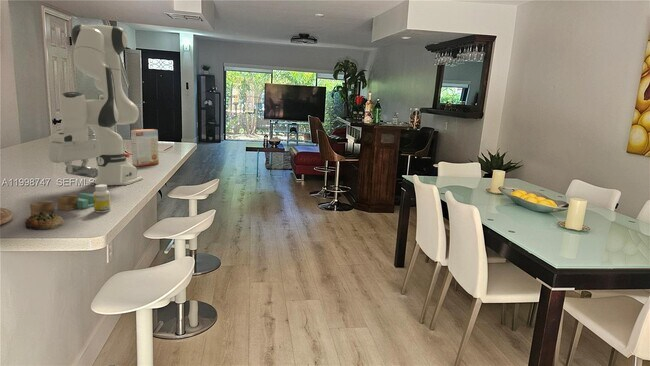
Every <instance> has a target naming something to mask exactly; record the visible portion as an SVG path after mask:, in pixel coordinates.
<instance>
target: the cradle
mask: <svg viewBox="0 0 650 366" xmlns="http://www.w3.org/2000/svg"><path fill="white" fill-rule="evenodd" d="M91 207H94V195H93V193H89V192H87V193H86V192H80V193H78V200H77V208H76V209H82V210H85V209H88V208H91Z"/></svg>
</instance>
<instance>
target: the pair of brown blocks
mask: <svg viewBox="0 0 650 366" xmlns="http://www.w3.org/2000/svg"><path fill="white" fill-rule="evenodd" d="M78 198H79V195H76V194H68V195H67V194H66V195H61V196H58V197H56V204H57V210H59V211H71V210H74V209H78V208H77V200H78ZM29 210H30V216H32V215H33V214H35V215H37V214H39V213H40V212H45V213H50V214H55V209H54V201H49V200H45V199H44V200H41V201H36V202H33V203H29Z"/></svg>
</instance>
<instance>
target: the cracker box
mask: <svg viewBox="0 0 650 366" xmlns="http://www.w3.org/2000/svg"><path fill="white" fill-rule="evenodd" d="M130 136H131V137H130V139H131V160H132V161H131V164H132V165H133V166H135V167H143V166H144V167H145V166H151V165H152V166H153V165H159V163H160V162H159V158H160V157H159V132H158V129H155V128H151V129H150V128H149V129H148V128H147V129H131V130H130Z"/></svg>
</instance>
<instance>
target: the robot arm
mask: <svg viewBox="0 0 650 366" xmlns="http://www.w3.org/2000/svg"><path fill="white" fill-rule="evenodd" d="M70 35H71V41H72V44H73V45H74V50H73V63H74V65H75V67H76V69H77V70H79V71H80V72H81V73H82V74H84V75H85V76H87V77H90V78H93V82H94V83H93V84H94V86H95V87H96V89H97V90H99V91H101V92H102V95H103V99H86V97H85V94H84V93H83V92H79V91H68V92H64V93H62V94H61V96H60V103H59V104H60V105H59V112H60V113H59V114H60V119H61V127H60V130H58V131H57V132H55V133H53V134H51V135H49V136H48V141H49V144H48V159H49V161H50V163H57V164H59V163H64V165H65V166H66V167H67V168H68V172H69V173H72V172H75V168H73V167H72V166H71V165H73V161H74V162H75V161H80V160H81V164H80V166H83V167H87V165H88V163H89V159H94V158H95V160H96V169H97V170H98V175H97V177H95V178H94V184H96V185H100V184H104V185H107V186H119V185H120V186H121V185H122V186H124V185H125V186H126V185H127V186H128V185H130V184H133V183H136V182H139V181H142V180H144V178H143V176H140V175H139V174H138V169H137V166H135V165H132V163H130V162H129V161H128V160H127V158H130V157H131V153H126V152H125V153H124V143H123V142H124V140H123V139H124V138H123V137H122V136H121V134H120V133H117V132H115V131H114V130H112V129H110V128H112V127H113V126H115V125H129V124H130V125H132V124H135V123H136V122H137V121H138V119H139V117H140V110H139V107H138V105H136V104H135V103H134V102H133V101H132V100H131V99H129V98H128V96H127V95H126V93H125V91H124V89H123V85H122V71H121V70H122V69H121V68H122V67H121V59H120V55H121V54H122V53H123V52H124V51H126V50H127V49H126V48H127V47H128V41H129V40H128V36H127V32H126V30H124V29H123V28H122V27H119V26H115V25H113V26H111V25H107V24H106V25H105V24H83V23H82V24H76V25H75V26H74V27H72V28H71V33H70ZM89 128H90V129H91V131H92V132H93V133H92V134H89Z"/></svg>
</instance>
